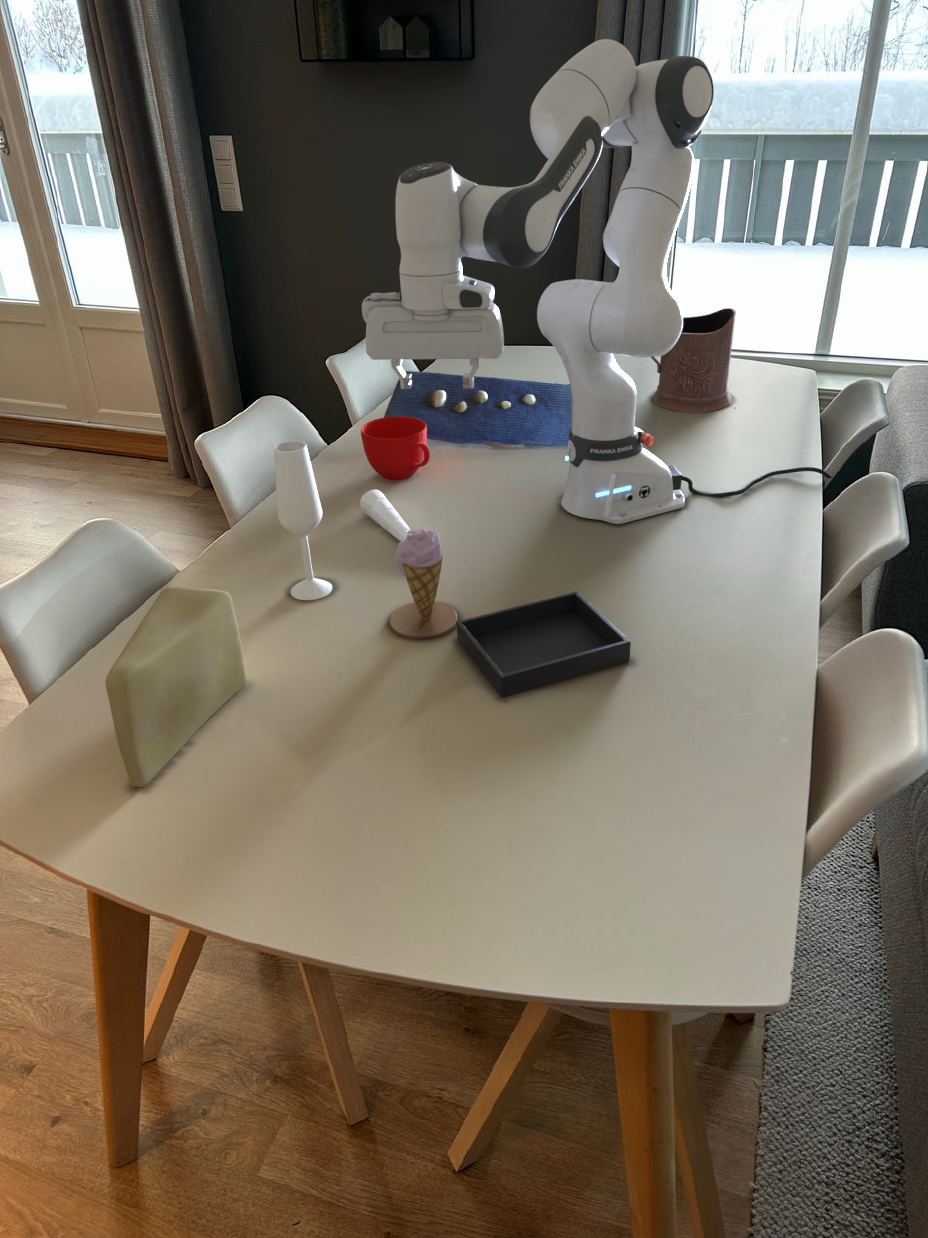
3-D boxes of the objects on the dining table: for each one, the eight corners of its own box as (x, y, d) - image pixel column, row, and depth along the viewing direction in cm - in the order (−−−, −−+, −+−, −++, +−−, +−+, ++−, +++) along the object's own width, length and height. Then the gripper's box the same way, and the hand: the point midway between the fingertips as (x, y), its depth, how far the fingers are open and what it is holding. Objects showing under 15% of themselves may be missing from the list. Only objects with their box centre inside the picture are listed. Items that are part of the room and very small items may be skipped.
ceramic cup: (404, 499, 173) (400, 449, 167) (352, 475, 184) (347, 427, 178) (455, 479, 180) (453, 431, 174) (403, 457, 191) (399, 411, 186)
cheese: (175, 794, 104) (146, 689, 97) (99, 785, 106) (65, 681, 98) (251, 683, 123) (232, 586, 115) (185, 676, 125) (162, 581, 117)
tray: (575, 610, 136) (576, 591, 134) (629, 661, 123) (630, 641, 122) (457, 641, 130) (456, 621, 128) (501, 698, 118) (501, 677, 116)
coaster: (448, 599, 140) (448, 596, 139) (464, 632, 131) (464, 629, 131) (384, 610, 138) (384, 607, 138) (397, 644, 129) (396, 641, 129)
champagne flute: (294, 579, 147) (272, 438, 135) (335, 578, 147) (316, 437, 134) (286, 600, 141) (262, 455, 129) (329, 599, 141) (308, 454, 129)
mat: (589, 414, 216) (593, 372, 207) (582, 487, 198) (586, 445, 189) (404, 400, 221) (400, 359, 212) (381, 471, 203) (376, 429, 194)
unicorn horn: (409, 568, 149) (407, 542, 146) (360, 515, 167) (357, 491, 165) (435, 561, 150) (433, 535, 148) (383, 509, 169) (381, 485, 166)
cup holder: (740, 410, 207) (754, 296, 194) (634, 413, 208) (641, 301, 195) (721, 385, 223) (733, 279, 210) (623, 389, 224) (629, 283, 211)
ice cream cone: (411, 633, 131) (403, 540, 123) (394, 614, 136) (385, 523, 128) (453, 621, 133) (447, 529, 125) (434, 602, 138) (428, 513, 130)
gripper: (355, 297, 127) (365, 394, 134) (500, 295, 125) (502, 393, 132) (364, 288, 132) (373, 381, 140) (504, 285, 130) (505, 380, 137)
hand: (437, 387), depth 136 cm, fingers open, 8 cm apart
